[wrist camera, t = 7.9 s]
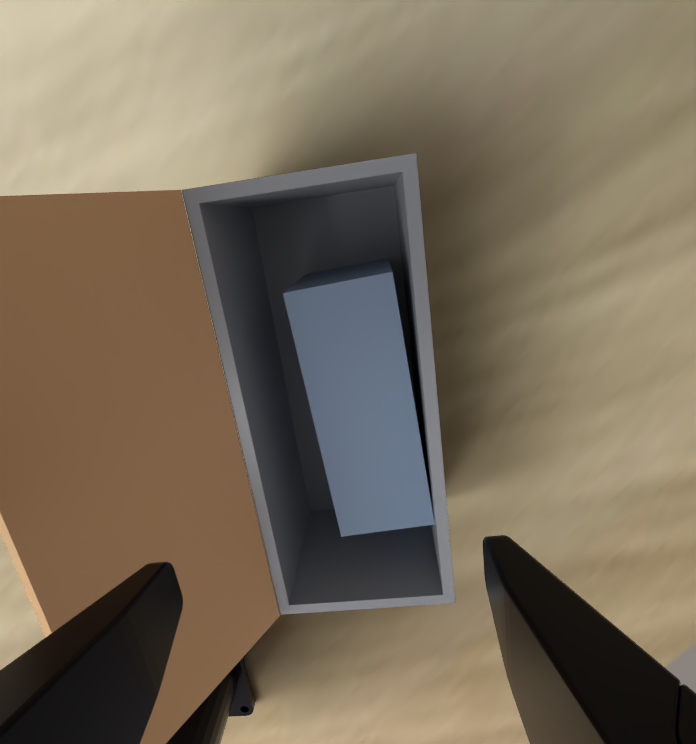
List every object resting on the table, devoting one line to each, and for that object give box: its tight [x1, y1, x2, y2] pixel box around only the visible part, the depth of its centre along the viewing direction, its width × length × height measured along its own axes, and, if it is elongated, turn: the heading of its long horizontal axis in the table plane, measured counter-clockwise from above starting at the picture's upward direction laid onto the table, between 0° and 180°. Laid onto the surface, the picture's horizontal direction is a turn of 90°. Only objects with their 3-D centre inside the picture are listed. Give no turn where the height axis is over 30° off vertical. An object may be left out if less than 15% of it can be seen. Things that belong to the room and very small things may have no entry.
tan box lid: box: [0, 190, 280, 744], centre depth 13 cm, size 15×6×1 cm
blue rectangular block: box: [283, 258, 435, 537], centre depth 18 cm, size 9×3×5 cm, turn 11°
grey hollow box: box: [182, 153, 455, 615], centre depth 18 cm, size 15×6×6 cm, turn 8°
